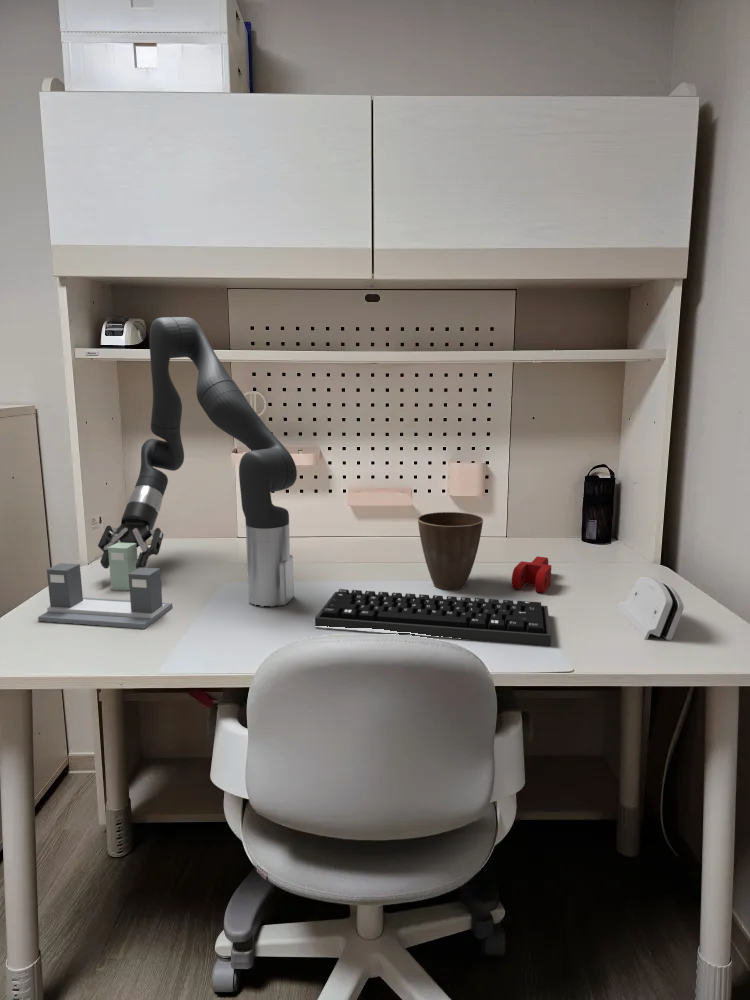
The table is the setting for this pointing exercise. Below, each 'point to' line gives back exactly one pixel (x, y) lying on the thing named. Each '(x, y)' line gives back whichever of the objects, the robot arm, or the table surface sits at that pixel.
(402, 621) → the computer keyboard
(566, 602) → the table surface
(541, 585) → the mechanical linkage
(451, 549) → the plant pot
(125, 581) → the block
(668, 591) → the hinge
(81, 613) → the rail board
